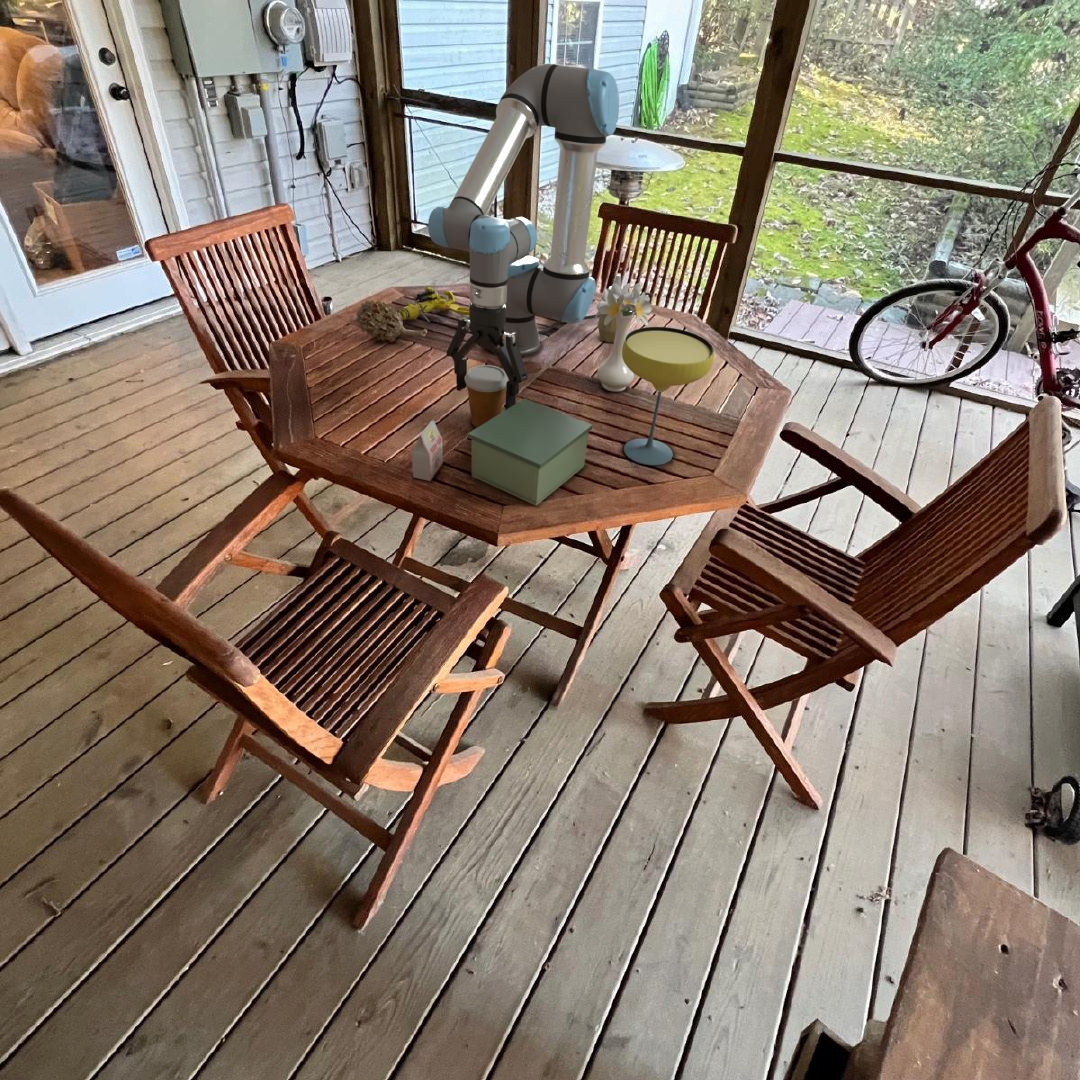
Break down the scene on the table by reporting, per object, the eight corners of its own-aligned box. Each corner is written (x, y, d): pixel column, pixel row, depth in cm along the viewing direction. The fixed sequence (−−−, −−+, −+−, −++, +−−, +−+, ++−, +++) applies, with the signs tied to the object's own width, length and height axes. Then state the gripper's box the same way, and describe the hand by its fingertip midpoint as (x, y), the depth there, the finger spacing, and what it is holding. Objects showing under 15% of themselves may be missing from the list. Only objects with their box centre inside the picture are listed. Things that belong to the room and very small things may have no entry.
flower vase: (640, 373, 181) (657, 277, 166) (635, 405, 167) (652, 304, 151) (591, 366, 183) (603, 270, 167) (582, 397, 168) (594, 296, 153)
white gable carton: (413, 477, 138) (410, 434, 131) (426, 460, 143) (424, 417, 136) (430, 481, 137) (428, 437, 131) (442, 463, 142) (441, 421, 136)
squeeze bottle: (628, 338, 199) (638, 275, 187) (615, 347, 193) (625, 282, 182) (604, 330, 202) (612, 268, 190) (590, 339, 196) (598, 275, 185)
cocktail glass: (688, 481, 143) (716, 370, 127) (603, 468, 145) (619, 356, 129) (689, 437, 157) (714, 332, 141) (611, 426, 159) (627, 321, 143)
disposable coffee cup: (500, 436, 152) (502, 386, 144) (459, 429, 153) (459, 379, 146) (510, 415, 159) (513, 367, 152) (471, 409, 160) (471, 361, 153)
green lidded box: (521, 438, 152) (524, 398, 145) (587, 466, 145) (592, 424, 139) (467, 476, 139) (467, 433, 133) (536, 508, 132) (540, 464, 126)
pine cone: (349, 340, 185) (345, 303, 179) (368, 327, 192) (364, 292, 186) (423, 356, 180) (421, 320, 174) (439, 343, 187) (438, 307, 181)
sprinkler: (382, 289, 196) (435, 272, 207) (384, 314, 201) (435, 296, 212) (427, 312, 187) (479, 293, 199) (428, 338, 192) (478, 318, 204)
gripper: (428, 291, 141) (431, 386, 155) (527, 324, 131) (521, 422, 145) (452, 283, 146) (452, 375, 160) (549, 314, 136) (541, 410, 150)
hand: (485, 398), depth 152 cm, fingers open, 13 cm apart
